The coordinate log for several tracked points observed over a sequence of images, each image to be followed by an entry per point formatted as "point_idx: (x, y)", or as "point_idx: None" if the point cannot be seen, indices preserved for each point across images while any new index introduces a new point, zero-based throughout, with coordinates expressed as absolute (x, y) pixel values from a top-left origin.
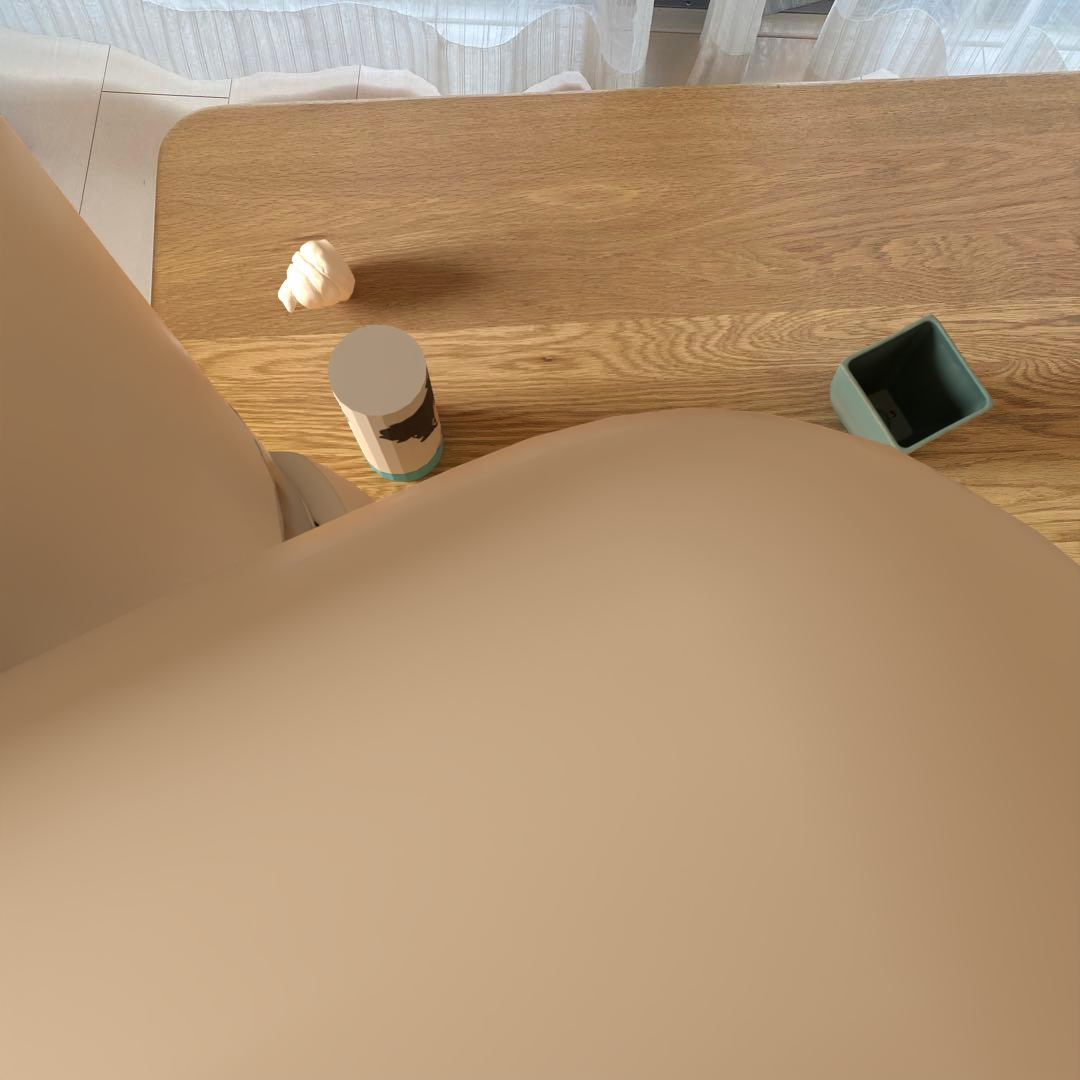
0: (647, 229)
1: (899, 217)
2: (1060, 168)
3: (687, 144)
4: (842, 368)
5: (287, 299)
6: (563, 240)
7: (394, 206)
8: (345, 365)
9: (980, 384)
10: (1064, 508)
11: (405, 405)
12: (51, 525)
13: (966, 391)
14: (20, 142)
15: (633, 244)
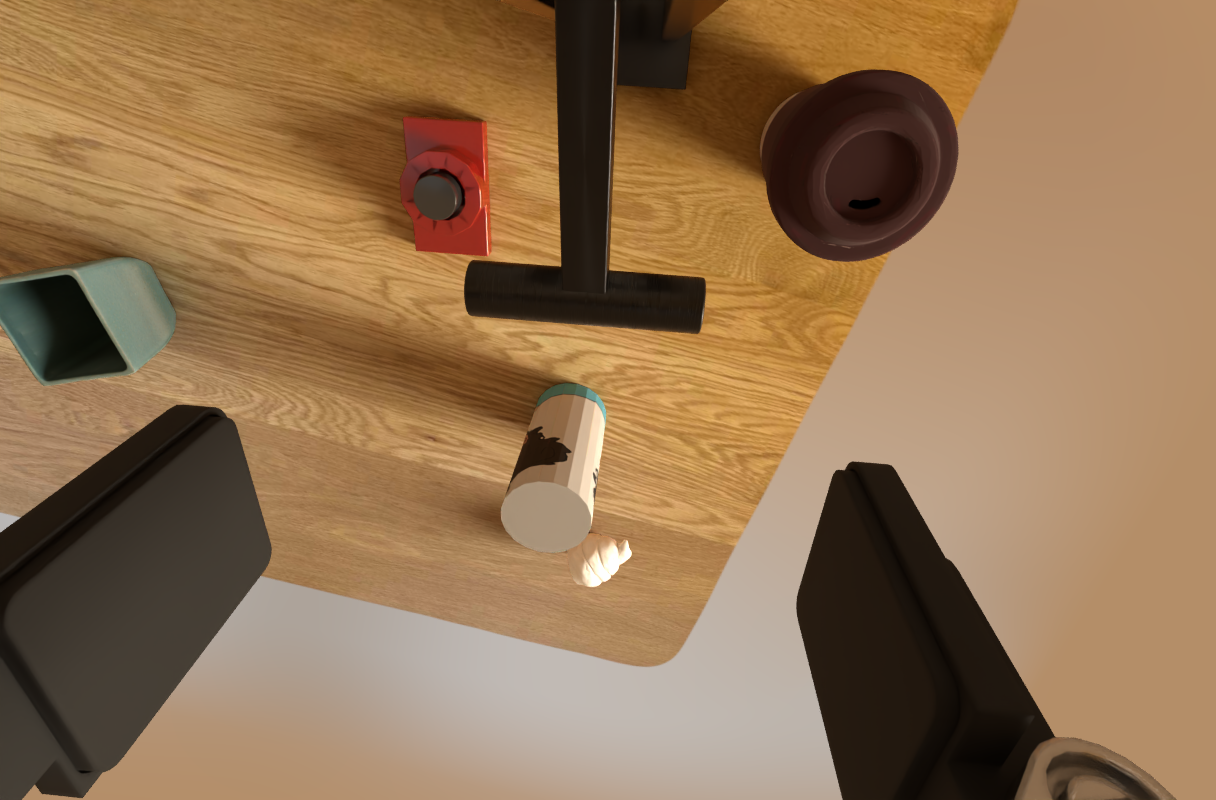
0: (328, 505)
1: (110, 450)
2: None
3: (286, 551)
4: (132, 366)
5: (624, 551)
6: (398, 517)
7: (525, 578)
8: (572, 529)
9: None
10: None
11: (528, 483)
12: None
13: (13, 304)
14: None
15: (341, 498)
